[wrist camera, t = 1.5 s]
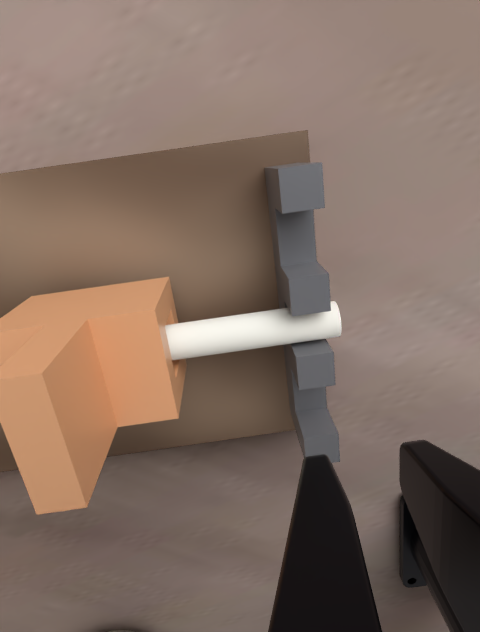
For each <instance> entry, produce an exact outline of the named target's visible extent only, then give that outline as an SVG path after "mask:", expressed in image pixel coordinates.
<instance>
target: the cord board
mask: <svg viewBox="0 0 480 632" xmlns="http://www.w3.org/2000/svg"><path fill="white" fill-rule="evenodd" d="M293 163H310V156H309V141H308V130H304V131H297V132H290V133H283V134H276V135H269V136H262V137H255V138H248V139H241V140H234V141H227V142H220V143H213V144H206V145H199V146H192V147H185V148H178V149H171V150H164V151H157V152H150V153H143V154H136V155H128V156H121V157H114V158H107V159H100V160H93V161H86V162H79V163H72V164H65V165H58V166H51V167H44V168H37V169H30V170H23V171H16V172H9V173H2V174H0V318H1V317H3V316H4V315H6V314H7V313H9V312H10V311H11V310H13V309H14V308H16V307H17V306H18V305H20V304H21V303H23V302H24V301H25V300H27V299H28V298H30V297H31V296H36V295H43V294H50V293H57V292H64V291H71V290H79V289H86V288H93V287H100V286H107V285H114V284H121V283H128V282H135V281H142V280H149V279H156V278H163V277H169V279H170V284H171V289H172V294H173V299H174V304H175V309H176V314H177V319H178V323H184V322H191V321H198V320H205V319H212V318H219V317H226V316H233V315H240V314H247V313H254V312H261V311H268V310H275V309H279V300H278V290H277V281H276V271H275V262H274V253H273V243H272V234H271V224H270V215H269V205H268V196H267V187H266V177H265V167H272V166H279V165H286V164H293ZM313 216H314V213H313ZM314 230H315V227H314ZM315 244H316V242H315ZM316 259H317V256H316ZM186 364H187V367H186V373H185V380H184V386H183V393H182V399H181V406H180V412H179V418H178V419H171V420H164V421H157V422H150V423H143V424H136V425H129V426H122V427H117V430H116V433H115V435H114V438H113V441H112V443H111V446H110V448H109V451H108V454H107V456H106V457H109V456H116V455H123V454H130V453H137V452H144V451H151V450H158V449H165V448H172V447H179V446H186V445H193V444H200V443H207V442H214V441H221V440H228V439H235V438H242V437H249V436H256V435H263V434H270V433H277V432H284V431H291V430H296V429H295V425H294V422H293V419H292V415H291V412H290V403H289V394H288V385H287V375H286V366H285V356H284V347H283V345H277V346H270V347H263V348H256V349H249V350H242V351H235V352H228V353H221V354H214V355H207V356H200V357H193V358H186ZM325 387H326V386H325ZM326 402H327V399H326ZM18 469H19V468H18V466H17V463H16V461H15V458H14V456H13V453H12V451H11V448H10V446H9V443H8V440H7V438H6V435H5V433H4V430H3V428H2V425H1V423H0V472H4V471H11V470H18Z"/></svg>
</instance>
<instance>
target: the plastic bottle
mask: <svg viewBox="0 0 480 632" xmlns="http://www.w3.org/2000/svg"><path fill="white" fill-rule="evenodd" d="M109 632H134V631H125V630H117V631H109Z"/></svg>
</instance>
